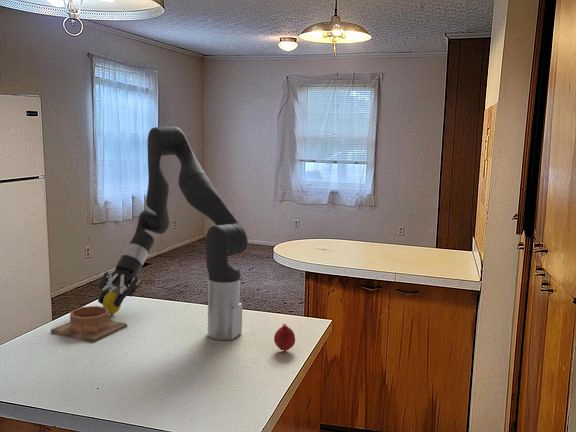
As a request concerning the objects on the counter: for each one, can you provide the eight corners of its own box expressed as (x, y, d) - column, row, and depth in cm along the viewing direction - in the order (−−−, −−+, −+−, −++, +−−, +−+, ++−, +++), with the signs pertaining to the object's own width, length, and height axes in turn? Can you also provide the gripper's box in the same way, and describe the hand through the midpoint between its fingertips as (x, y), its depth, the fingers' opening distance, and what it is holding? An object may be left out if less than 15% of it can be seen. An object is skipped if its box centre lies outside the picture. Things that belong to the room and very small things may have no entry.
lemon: (102, 318, 166) (101, 294, 165) (103, 313, 171) (103, 289, 170) (120, 317, 168) (120, 293, 166) (121, 312, 173) (121, 288, 172)
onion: (294, 347, 148) (295, 320, 147) (295, 355, 143) (296, 327, 142) (273, 347, 148) (274, 320, 147) (273, 355, 142) (274, 327, 141)
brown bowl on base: (127, 326, 160) (127, 309, 159) (93, 342, 147) (93, 323, 146) (86, 318, 166) (86, 301, 165) (51, 332, 153) (50, 314, 152)
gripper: (109, 251, 176) (84, 295, 167) (144, 256, 171) (120, 301, 162) (120, 263, 182) (96, 306, 173) (154, 269, 176) (131, 313, 167)
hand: (108, 304), depth 167 cm, fingers closed on lemon, 5 cm apart
